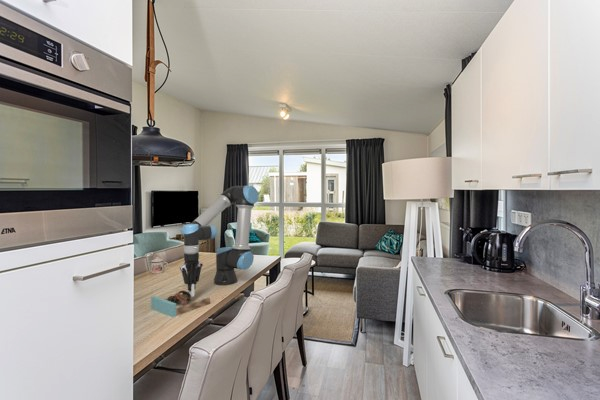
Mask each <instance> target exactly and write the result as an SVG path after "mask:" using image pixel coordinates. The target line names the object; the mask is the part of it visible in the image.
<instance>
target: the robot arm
mask: <svg viewBox="0 0 600 400" xmlns="http://www.w3.org/2000/svg"><path fill="white" fill-rule="evenodd" d="M258 201H259V193H258V190H257V189H256V187H255V186H253V185H248V184H247V185H234V186H233V185H232V186H231V187H229V188H227V189H226V190H225V191H223V192H222V193H221V194H220V195H219V196H218V198H217V199H216V200H215V201H214V202H213V203H212V204H211V205H210V206H209V207H207V208H206V210H204V211H203V212H202V213H201V214H200V215H199V216H198V217H196V218H195V219H194V220H193V221H192V222H191V223H187V224H184V225H183V226H182V227H181V235H182V236H183V253H184V254H183V261H184V263H183V266H181V267H179V270H180V271H181V274H182V278H183V283H184V284H185V285H187V290H188V292H189V293H190V295H191V298H192V297H195V290H196V284H198V282H199V281H200V277H201V276H200V275H201V271H202V267H203V265H204V264H203V263H201V262H200V261H199V259H200V253H199V252H200V251H199V250H200V249H199V248H200V247H199V245H200V244H199V243H200V241H206V240H211V239H215V238H217V235H218V230H217V228H216V226H214V225H210V223H212V221H214V219H216V218H217V217H218V216H219V215H220V214H221V213H222V212H223V211H224V210H225V209H226V208H229V207H230V206H232V205H234V204H235V206H236V207H237V218H236V230H235V241H234V242H235V243H234V245H233V246H226V247H221V248H218V249H216V254H215V262H216V263H215V265H216V272H215V275H214V278H213V284H214V285H218V286H228V285H233V284H236V283H237V281H238V278H237V274H236V271H235V269H236V270H237V269H238V270H244V271H246V270H248V269H249V268H251V266H252V265H253V262H254V254H253V253H252V252H251V247H250V246H249V243H250V230H251V219H252V218H251V217H252V209H253V208H254V207H255V204H256V203H257V202H258ZM235 282H236V283H235Z"/></svg>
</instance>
